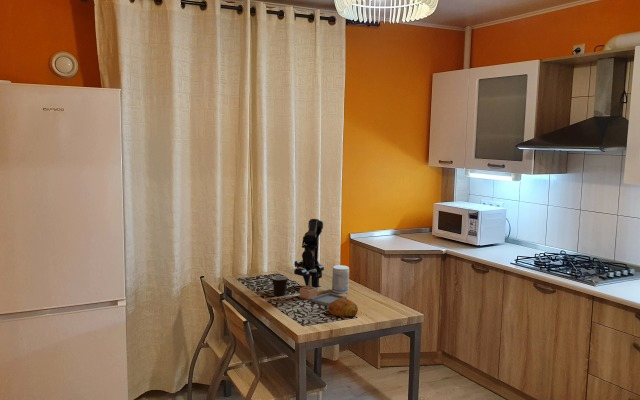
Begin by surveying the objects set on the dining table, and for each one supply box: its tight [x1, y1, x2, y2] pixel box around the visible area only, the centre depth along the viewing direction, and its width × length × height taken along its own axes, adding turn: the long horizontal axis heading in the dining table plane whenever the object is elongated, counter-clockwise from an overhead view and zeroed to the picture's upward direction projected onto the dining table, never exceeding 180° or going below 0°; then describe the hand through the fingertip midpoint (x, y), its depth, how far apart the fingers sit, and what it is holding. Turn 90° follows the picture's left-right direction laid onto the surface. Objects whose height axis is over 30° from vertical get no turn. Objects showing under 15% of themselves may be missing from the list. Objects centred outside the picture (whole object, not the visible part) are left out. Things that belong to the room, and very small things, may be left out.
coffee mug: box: [271, 275, 289, 297], centre depth 285 cm, size 12×9×10 cm
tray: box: [310, 292, 348, 307], centre depth 275 cm, size 16×12×2 cm
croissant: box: [326, 298, 359, 318], centre depth 258 cm, size 14×16×8 cm
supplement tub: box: [331, 264, 350, 294], centre depth 293 cm, size 10×10×15 cm
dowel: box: [305, 275, 312, 290], centre depth 280 cm, size 3×3×11 cm
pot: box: [299, 286, 318, 300], centre depth 280 cm, size 7×7×6 cm
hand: (308, 284), depth 280 cm, fingers closed on dowel, 3 cm apart
